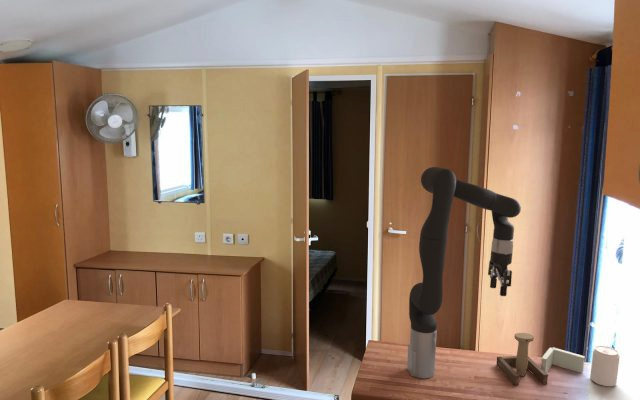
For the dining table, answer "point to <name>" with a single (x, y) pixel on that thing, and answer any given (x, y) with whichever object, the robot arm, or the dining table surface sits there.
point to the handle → (522, 352)
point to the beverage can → (604, 366)
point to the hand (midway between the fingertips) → (497, 291)
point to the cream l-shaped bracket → (562, 360)
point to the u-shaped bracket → (505, 367)
